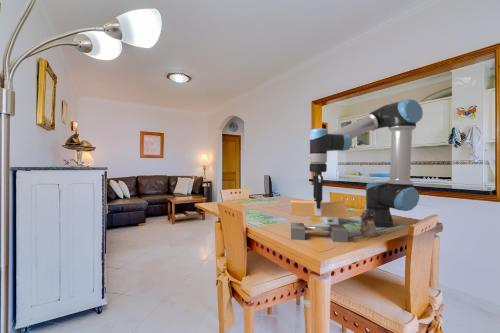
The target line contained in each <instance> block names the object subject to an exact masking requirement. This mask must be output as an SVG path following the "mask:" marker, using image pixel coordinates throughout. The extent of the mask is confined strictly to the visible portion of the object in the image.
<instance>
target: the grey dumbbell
mask: <svg viewBox="0 0 500 333" xmlns="http://www.w3.org/2000/svg"><path fill="white" fill-rule="evenodd" d="M306 231H311V232H312V231H313V232H314V231H315V232H328V234H329V237H330V238H331V240H332V241H333V242H336V243H348V242H349V240H348V239H349V231H348V229H347V228H346V227H345V226H344V224H340V223H339V224H329V225H328V226H322V225H321V226H318V225H317V226H316V225H305V223H304V222H290V240H293V239H295V241H298V240H299V241H305V240H306Z"/></svg>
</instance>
